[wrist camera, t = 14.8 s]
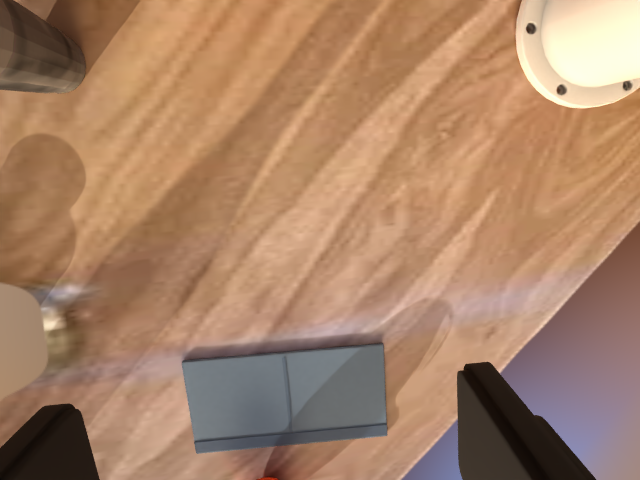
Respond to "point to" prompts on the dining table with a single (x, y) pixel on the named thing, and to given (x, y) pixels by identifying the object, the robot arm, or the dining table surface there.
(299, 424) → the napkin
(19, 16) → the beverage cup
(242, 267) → the dining table surface
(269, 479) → the clementine
